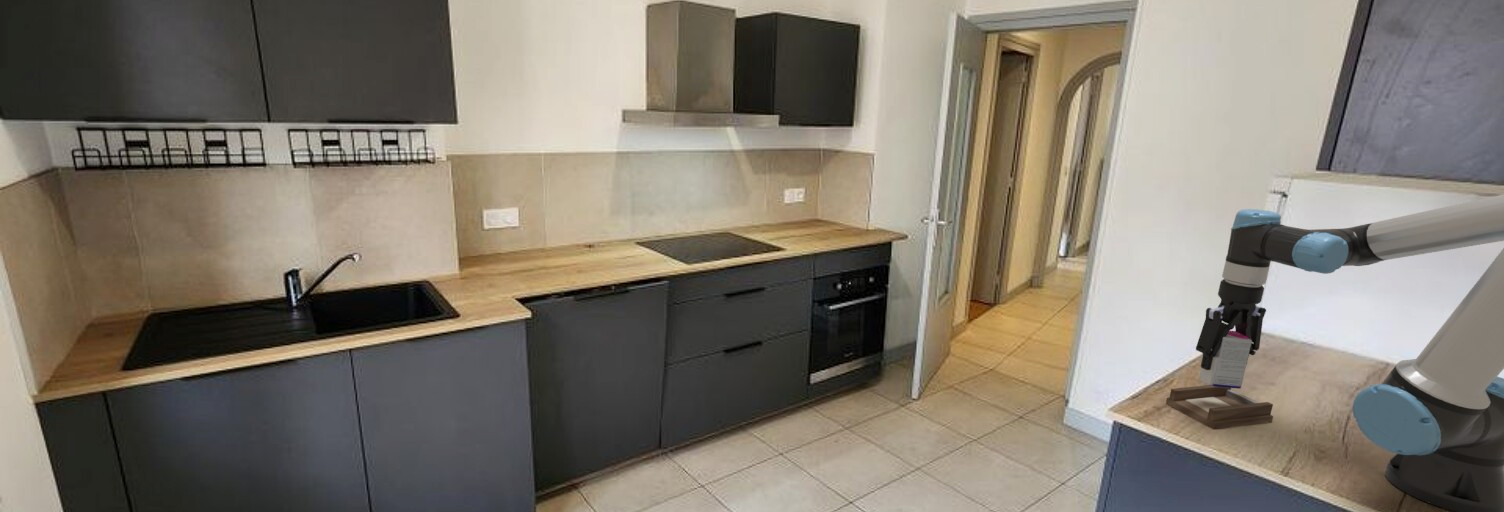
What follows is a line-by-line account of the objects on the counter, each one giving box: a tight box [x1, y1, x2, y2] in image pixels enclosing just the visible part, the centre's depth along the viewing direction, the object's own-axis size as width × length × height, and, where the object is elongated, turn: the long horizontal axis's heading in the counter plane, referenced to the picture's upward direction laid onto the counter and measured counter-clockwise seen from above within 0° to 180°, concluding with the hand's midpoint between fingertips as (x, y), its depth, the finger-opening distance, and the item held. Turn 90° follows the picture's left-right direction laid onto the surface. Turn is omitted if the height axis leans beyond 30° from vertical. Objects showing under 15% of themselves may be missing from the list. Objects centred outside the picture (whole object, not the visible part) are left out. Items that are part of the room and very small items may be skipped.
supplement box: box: [1211, 330, 1253, 390], centre depth 141 cm, size 6×6×12 cm
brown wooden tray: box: [1165, 384, 1274, 430], centre depth 144 cm, size 12×16×4 cm
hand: (1220, 380), depth 142 cm, fingers closed on supplement box, 7 cm apart
